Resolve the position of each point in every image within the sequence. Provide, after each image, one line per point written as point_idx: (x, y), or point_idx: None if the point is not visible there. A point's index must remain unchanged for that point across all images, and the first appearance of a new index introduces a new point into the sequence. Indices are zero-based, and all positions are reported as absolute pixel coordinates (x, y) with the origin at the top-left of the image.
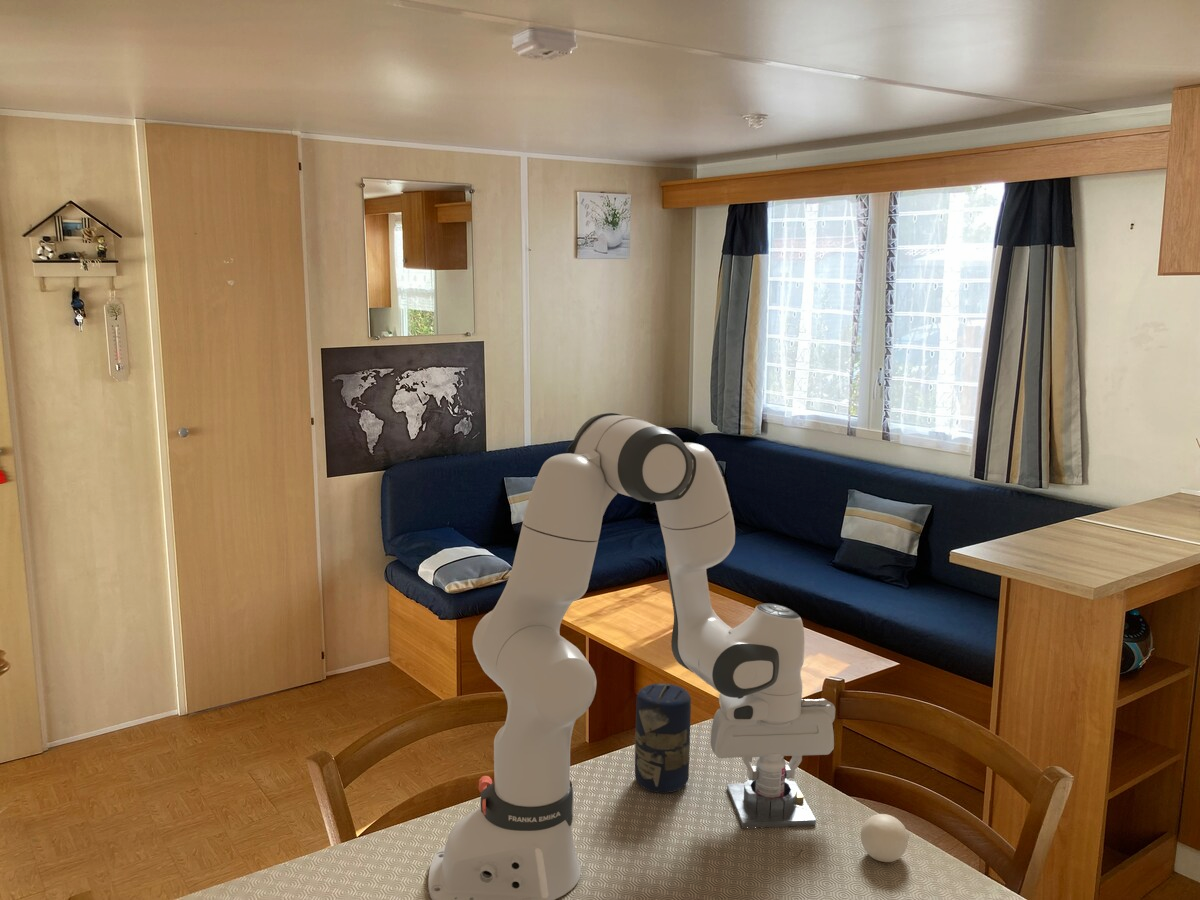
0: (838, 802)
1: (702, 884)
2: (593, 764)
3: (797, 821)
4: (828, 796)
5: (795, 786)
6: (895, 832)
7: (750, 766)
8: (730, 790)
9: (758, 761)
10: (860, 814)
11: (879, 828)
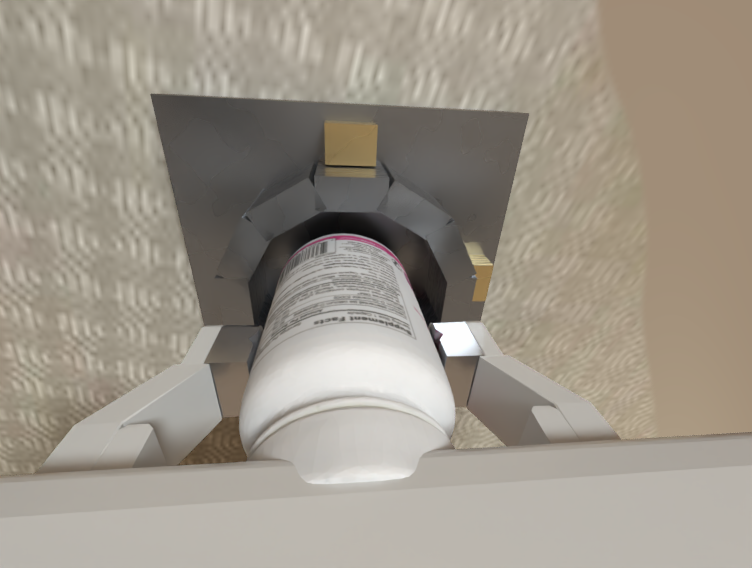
0: (610, 253)
1: None
2: None
3: None
4: (603, 211)
5: (505, 166)
6: None
7: (184, 453)
8: (171, 168)
9: (244, 449)
10: (626, 321)
11: None
